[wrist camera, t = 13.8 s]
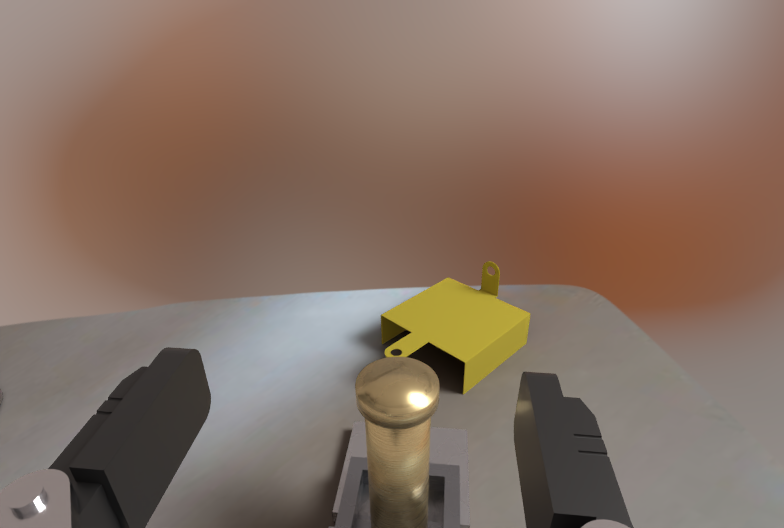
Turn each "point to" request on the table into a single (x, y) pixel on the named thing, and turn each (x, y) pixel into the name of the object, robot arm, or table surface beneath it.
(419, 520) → the hinge pin
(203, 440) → the table surface
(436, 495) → the grey socket base plate
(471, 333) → the bracket
